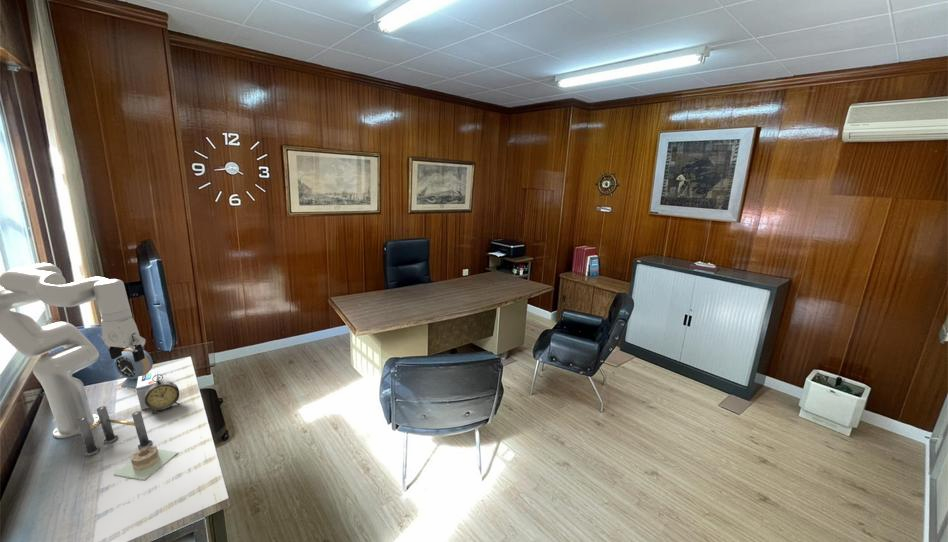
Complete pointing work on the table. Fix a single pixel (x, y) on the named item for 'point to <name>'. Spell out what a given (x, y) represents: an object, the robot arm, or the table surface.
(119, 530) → the table surface
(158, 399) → the alarm clock
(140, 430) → the rope barrier
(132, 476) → the pad
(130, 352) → the alarm clock
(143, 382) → the light bulb box
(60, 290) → the robot arm
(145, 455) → the pot
